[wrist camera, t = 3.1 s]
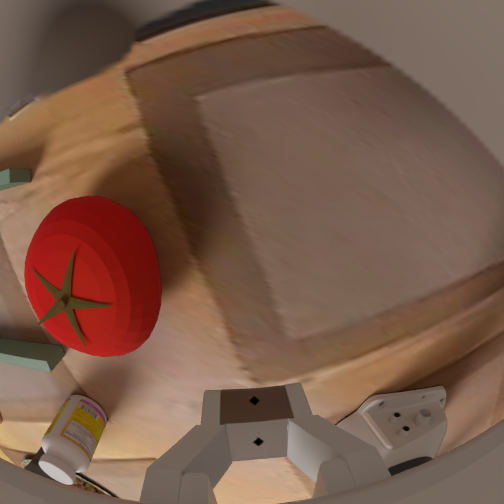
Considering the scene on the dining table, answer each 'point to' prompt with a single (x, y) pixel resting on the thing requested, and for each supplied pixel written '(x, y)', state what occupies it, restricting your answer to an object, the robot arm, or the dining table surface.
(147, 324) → the tomato
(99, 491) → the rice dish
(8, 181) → the corral
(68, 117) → the dining table surface
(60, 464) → the supplement bottle
